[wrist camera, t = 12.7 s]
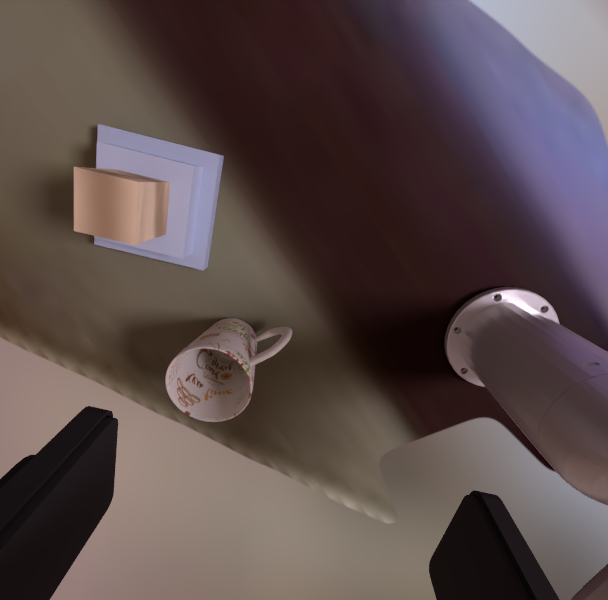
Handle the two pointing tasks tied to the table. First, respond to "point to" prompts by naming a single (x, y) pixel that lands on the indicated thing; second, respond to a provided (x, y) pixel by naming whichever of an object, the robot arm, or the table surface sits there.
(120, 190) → the beech block
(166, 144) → the plinth
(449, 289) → the table surface
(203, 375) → the mug
